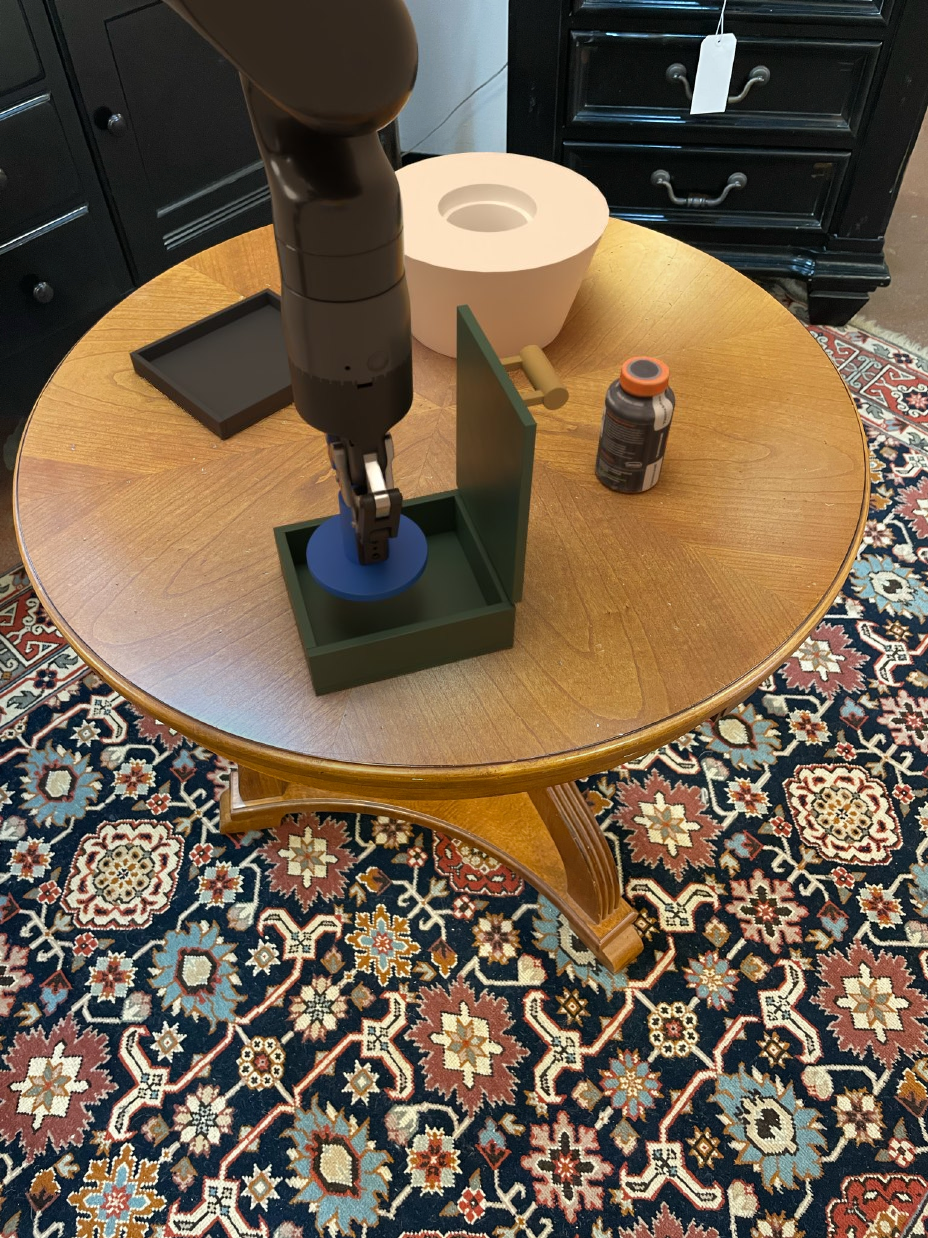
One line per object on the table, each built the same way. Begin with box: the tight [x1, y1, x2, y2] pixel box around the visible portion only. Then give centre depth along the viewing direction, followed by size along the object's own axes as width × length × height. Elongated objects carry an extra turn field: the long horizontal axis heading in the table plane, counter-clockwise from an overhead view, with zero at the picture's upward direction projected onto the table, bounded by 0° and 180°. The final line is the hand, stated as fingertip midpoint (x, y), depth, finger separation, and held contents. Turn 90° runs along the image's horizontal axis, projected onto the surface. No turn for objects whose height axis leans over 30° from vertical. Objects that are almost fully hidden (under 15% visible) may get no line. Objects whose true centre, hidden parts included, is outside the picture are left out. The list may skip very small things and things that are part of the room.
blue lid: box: [306, 484, 428, 602], centre depth 69 cm, size 9×9×6 cm
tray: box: [128, 287, 294, 441], centre depth 96 cm, size 17×15×2 cm
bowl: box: [394, 151, 610, 359], centre depth 99 cm, size 24×24×12 cm
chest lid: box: [455, 304, 570, 604], centre depth 68 cm, size 16×14×5 cm
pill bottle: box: [594, 355, 676, 494], centre depth 83 cm, size 6×6×11 cm
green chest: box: [272, 488, 517, 697], centre depth 75 cm, size 16×14×5 cm
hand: (366, 540), depth 70 cm, fingers closed on blue lid, 3 cm apart
